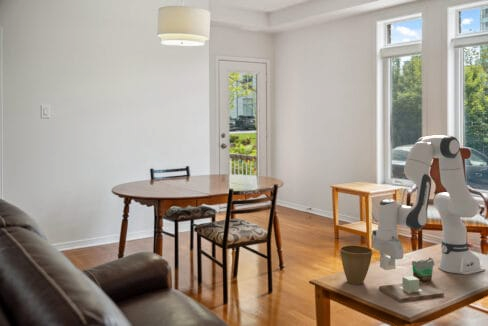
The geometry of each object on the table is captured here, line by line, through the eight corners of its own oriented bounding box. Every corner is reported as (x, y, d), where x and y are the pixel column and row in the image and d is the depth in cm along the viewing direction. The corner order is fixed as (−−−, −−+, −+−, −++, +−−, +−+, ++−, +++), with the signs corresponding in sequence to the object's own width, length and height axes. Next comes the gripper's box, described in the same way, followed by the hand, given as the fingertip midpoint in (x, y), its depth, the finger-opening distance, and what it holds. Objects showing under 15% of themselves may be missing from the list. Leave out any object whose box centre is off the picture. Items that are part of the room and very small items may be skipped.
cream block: (389, 265, 224) (389, 255, 224) (395, 268, 220) (395, 258, 219) (379, 266, 223) (379, 256, 222) (385, 270, 218) (385, 259, 218)
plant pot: (356, 289, 215) (356, 255, 214) (333, 280, 228) (333, 248, 226) (378, 283, 223) (379, 250, 222) (355, 274, 236) (356, 243, 234)
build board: (420, 284, 221) (420, 280, 221) (443, 296, 206) (443, 292, 206) (378, 289, 215) (379, 285, 215) (399, 302, 200) (399, 298, 200)
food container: (421, 285, 220) (421, 264, 219) (411, 281, 225) (411, 260, 224) (439, 280, 226) (440, 260, 225) (429, 277, 231) (429, 257, 230)
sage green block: (412, 286, 213) (412, 275, 213) (419, 290, 209) (419, 279, 208) (402, 287, 212) (402, 276, 212) (409, 291, 207) (409, 280, 207)
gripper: (407, 239, 211) (407, 269, 212) (381, 229, 230) (381, 256, 232) (394, 240, 209) (394, 270, 210) (370, 230, 228) (370, 258, 230)
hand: (387, 263), depth 221 cm, fingers closed on cream block, 5 cm apart
